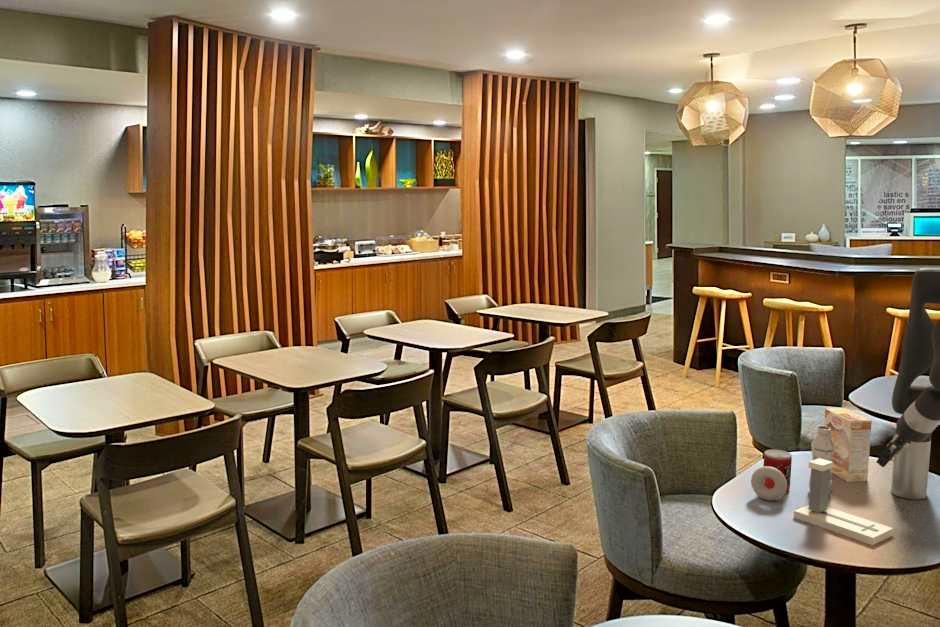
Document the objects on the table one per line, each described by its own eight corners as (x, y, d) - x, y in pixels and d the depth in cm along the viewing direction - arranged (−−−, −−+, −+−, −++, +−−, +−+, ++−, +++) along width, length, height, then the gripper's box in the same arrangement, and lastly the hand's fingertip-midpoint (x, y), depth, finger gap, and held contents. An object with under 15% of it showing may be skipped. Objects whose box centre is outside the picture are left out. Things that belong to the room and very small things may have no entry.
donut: (787, 501, 234) (789, 468, 233) (784, 505, 231) (786, 471, 230) (751, 494, 240) (753, 462, 238) (748, 498, 237) (750, 465, 235)
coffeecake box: (820, 466, 264) (824, 408, 262) (841, 465, 265) (845, 407, 262) (846, 482, 250) (850, 420, 247) (868, 481, 250) (872, 420, 248)
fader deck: (814, 509, 228) (814, 502, 228) (892, 535, 211) (893, 527, 210) (793, 517, 222) (794, 510, 222) (872, 545, 205) (873, 537, 205)
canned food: (777, 495, 239) (779, 459, 238) (756, 486, 246) (758, 451, 245) (795, 490, 243) (797, 455, 241) (774, 482, 250) (776, 447, 248)
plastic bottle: (827, 489, 244) (831, 424, 241) (835, 497, 237) (839, 431, 234) (805, 488, 244) (809, 424, 241) (812, 497, 238) (816, 430, 235)
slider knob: (816, 505, 225) (819, 458, 223) (829, 509, 222) (833, 461, 220) (806, 509, 222) (808, 461, 220) (819, 514, 219) (822, 465, 217)
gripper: (921, 397, 206) (891, 433, 218) (891, 422, 199) (861, 459, 211) (948, 417, 202) (915, 453, 214) (918, 444, 195) (886, 480, 207)
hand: (889, 456), depth 212 cm, fingers open, 8 cm apart
